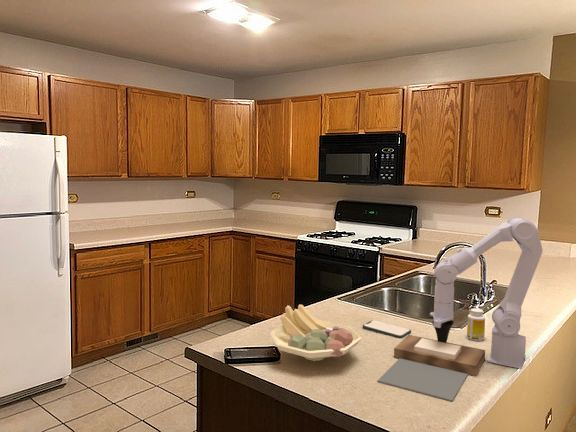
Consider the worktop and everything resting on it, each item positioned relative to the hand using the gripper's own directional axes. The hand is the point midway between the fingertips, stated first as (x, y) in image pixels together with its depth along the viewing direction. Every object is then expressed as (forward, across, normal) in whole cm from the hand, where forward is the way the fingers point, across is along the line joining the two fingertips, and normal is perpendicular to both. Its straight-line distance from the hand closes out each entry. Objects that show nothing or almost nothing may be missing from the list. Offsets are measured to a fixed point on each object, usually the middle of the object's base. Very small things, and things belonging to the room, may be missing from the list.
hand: (442, 343), depth 146 cm
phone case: (+4, -12, -23) cm, 26 cm away
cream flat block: (+1, +5, 0) cm, 5 cm away
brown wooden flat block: (+4, +3, 0) cm, 5 cm away
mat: (+4, +20, 0) cm, 20 cm away
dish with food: (+4, +23, -33) cm, 40 cm away
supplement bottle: (+4, -21, +6) cm, 22 cm away
